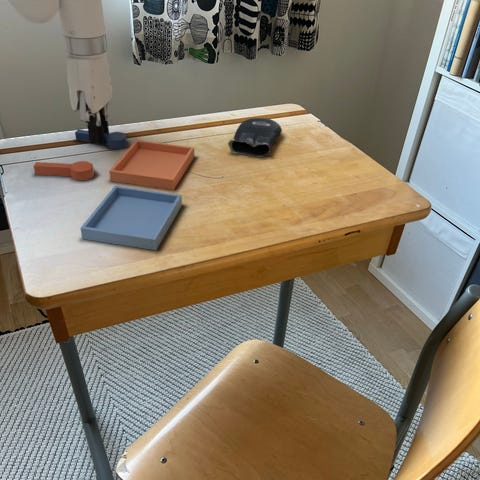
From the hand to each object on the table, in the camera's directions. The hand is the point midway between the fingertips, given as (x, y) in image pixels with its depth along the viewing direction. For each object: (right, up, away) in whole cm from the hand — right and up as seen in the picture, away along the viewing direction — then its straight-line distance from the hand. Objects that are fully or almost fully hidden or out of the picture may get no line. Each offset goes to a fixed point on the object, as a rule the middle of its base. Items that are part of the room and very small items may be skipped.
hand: (100, 140), depth 107 cm
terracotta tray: (+13, -8, -7) cm, 17 cm away
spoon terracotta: (-4, -10, -11) cm, 15 cm away
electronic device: (+33, +1, +4) cm, 33 cm away
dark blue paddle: (+1, 0, 0) cm, 1 cm away
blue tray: (+12, -21, -21) cm, 32 cm away
